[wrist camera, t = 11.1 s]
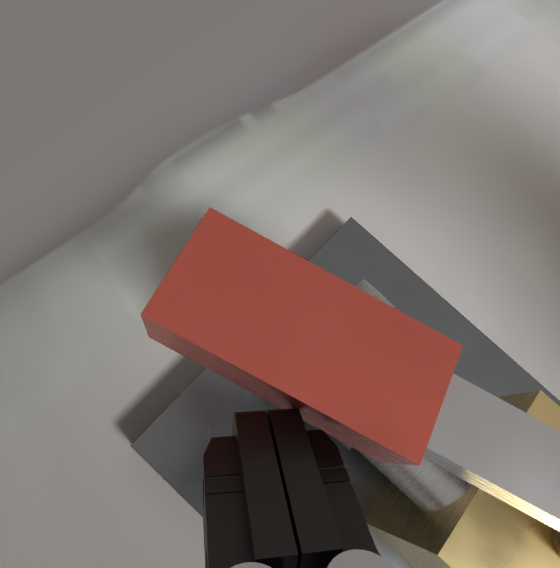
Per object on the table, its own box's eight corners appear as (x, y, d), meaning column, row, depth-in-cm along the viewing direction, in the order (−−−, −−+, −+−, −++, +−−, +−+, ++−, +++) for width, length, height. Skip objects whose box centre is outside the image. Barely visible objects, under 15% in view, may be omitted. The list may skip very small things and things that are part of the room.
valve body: (726, 564, 26) (1156, 659, 14) (596, 901, 20) (1131, 1498, 9) (344, 226, 28) (452, 75, 16) (133, 445, 22) (76, 447, 11)
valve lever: (762, 532, 13) (869, 548, 11) (749, 681, 12) (867, 731, 10) (213, 233, 13) (218, 193, 11) (139, 351, 12) (129, 331, 10)
